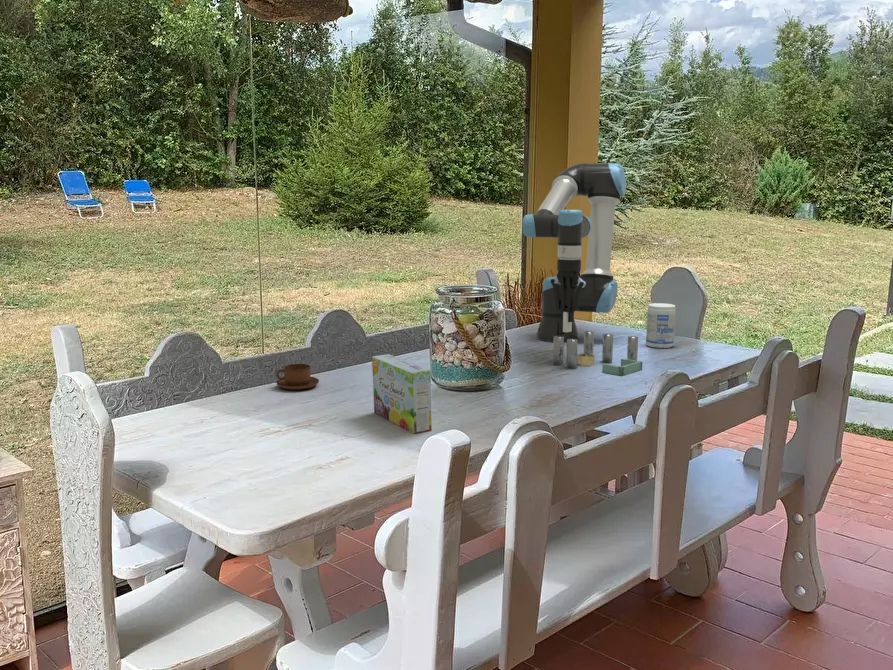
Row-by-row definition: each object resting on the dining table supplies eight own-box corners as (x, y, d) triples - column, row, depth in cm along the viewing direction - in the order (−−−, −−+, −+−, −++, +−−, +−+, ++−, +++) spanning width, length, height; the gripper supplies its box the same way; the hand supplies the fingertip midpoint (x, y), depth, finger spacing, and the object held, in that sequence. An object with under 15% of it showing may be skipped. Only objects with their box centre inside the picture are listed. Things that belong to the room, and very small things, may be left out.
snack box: (371, 413, 216) (370, 355, 214) (391, 410, 219) (390, 353, 217) (412, 434, 199) (412, 372, 196) (433, 430, 202) (432, 369, 199)
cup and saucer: (278, 394, 236) (277, 372, 235) (275, 384, 248) (274, 363, 246) (321, 391, 239) (320, 369, 238) (316, 381, 251) (315, 361, 250)
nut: (587, 366, 268) (587, 357, 267) (575, 364, 271) (575, 355, 270) (596, 364, 271) (596, 354, 271) (584, 362, 274) (585, 352, 274)
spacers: (549, 364, 270) (549, 337, 269) (585, 355, 284) (585, 328, 283) (604, 375, 256) (605, 345, 255) (639, 364, 270) (640, 336, 268)
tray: (602, 372, 260) (602, 364, 260) (622, 366, 268) (622, 358, 268) (621, 375, 255) (622, 367, 255) (642, 369, 263) (642, 361, 263)
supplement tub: (658, 349, 293) (660, 307, 290) (640, 345, 301) (641, 304, 298) (679, 347, 297) (681, 305, 294) (661, 342, 305) (662, 302, 303)
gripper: (545, 258, 272) (544, 330, 276) (579, 260, 263) (576, 335, 267) (559, 256, 277) (557, 328, 281) (593, 259, 268) (590, 332, 272)
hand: (567, 331), depth 274 cm, fingers closed
